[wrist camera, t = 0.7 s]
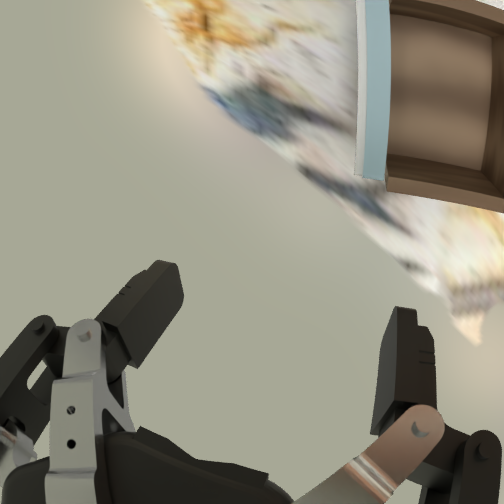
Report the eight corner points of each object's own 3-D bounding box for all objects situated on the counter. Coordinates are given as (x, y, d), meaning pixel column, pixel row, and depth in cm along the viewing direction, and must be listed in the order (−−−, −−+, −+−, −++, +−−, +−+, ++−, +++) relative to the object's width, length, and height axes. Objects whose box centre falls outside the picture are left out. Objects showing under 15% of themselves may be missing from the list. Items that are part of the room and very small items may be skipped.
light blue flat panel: (357, 13, 20) (354, -11, 13) (381, 15, 19) (388, -8, 12) (357, 146, 27) (353, 176, 20) (379, 149, 27) (383, 180, 20)
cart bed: (379, 7, 21) (384, -19, 13) (490, 31, 17) (534, 23, 10) (376, 155, 30) (380, 190, 22) (479, 174, 26) (513, 215, 18)
